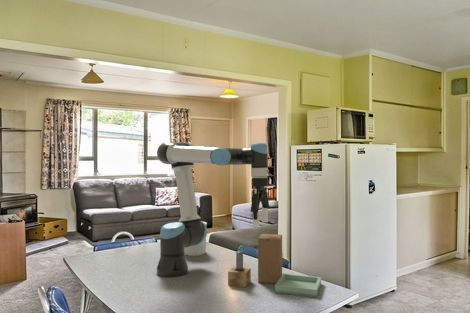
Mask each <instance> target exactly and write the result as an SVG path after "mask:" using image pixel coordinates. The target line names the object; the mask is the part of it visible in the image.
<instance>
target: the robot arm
mask: <svg viewBox="0 0 470 313" xmlns="http://www.w3.org/2000/svg"><path fill="white" fill-rule="evenodd" d="M268 154H269V152H268V145H267V144H266V143H264V142H259V143H258V142H256V143H251V144H250V147H248V148H246V147H245V148H238V147H237V148H234V147H233V148H232V147H209V146H206V147H205V146H194V145H192V143H190V142H184V141H164V142H163V143H161V144H159V145H158V148H157V150H156V157H157V158H158V161H160V163H162V164H164V165H171V166H170V167H171V170H172V171H173V172H174V174H175V182H176V189H177V190H176V191H177V196H178V197H177V198H178V204H179V212H180V218H179V220H178V221H175V222H168V223H166V224H164V225H162V226H161V228H160V234H159V238H160V239H159V242H160V243H159V244H160V245H159V246H160V247H159V248H160V249H159V250H160V252H159V254H160V257H159V261H158V264H157V267H156V275H158V276H161V277H168V278H169V277H171V278H173V277H181V276H184V275H186V274H188V273H189V266H188V263H187V260H186V255H185V254H184V250H185V248H186V247H189V246H193V245H197V244H199V243H202V242H203V241H204V240H205V238H206V239H207V235H208V227H207V226H206V225H205V224H204V223H203V222H204V221H203V220H202V217H201V216H199V214H198V208H197V203H196V202H197V201H196V194H195V188H194V187H195V186H194V185H195V184H194V180H193V173H192V172H193V171H192V169H193V168H194V167H195V165H194V164H204V165H205V164H210V165H216V166H239V165H244V166H245V165H250V167H251V168H250V170H251V171H250V172H251V173H250V174H251V175H250V176H251V187H255V188H253V189H252V198H251V204H250V206H251V207H250V213H252V227H253V228H259V227H260V205H261V222H262V223H269V209H270V203H269V202H270V200H269V196H268V186H269V178H268V177H269V172H270V170H269V169H268V168H269V166H268V165H269V163H268V161H269V160H268ZM202 221H203V222H202Z"/></svg>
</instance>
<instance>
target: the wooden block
mask: <svg viewBox="0 0 470 313" xmlns="http://www.w3.org/2000/svg"><path fill="white" fill-rule="evenodd" d="M257 244H258V245H257V281H258V283H260V284H261V283H262V284H263V283H264V284H275V285H276V283H277V282H278V280H279V279H280V277H281V276H282V274H283V235H282V234H278V233H276V234H275V233H274V234H271V233H261V234H259V237H258V238H257Z"/></svg>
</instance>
